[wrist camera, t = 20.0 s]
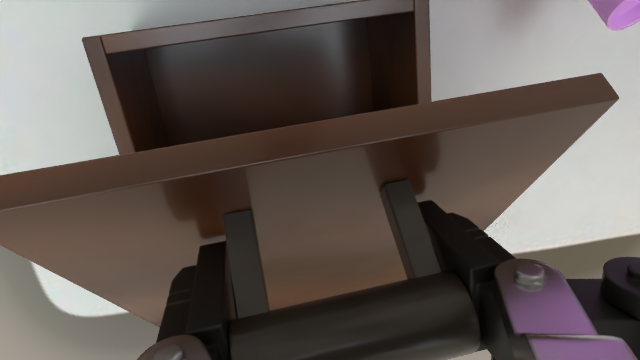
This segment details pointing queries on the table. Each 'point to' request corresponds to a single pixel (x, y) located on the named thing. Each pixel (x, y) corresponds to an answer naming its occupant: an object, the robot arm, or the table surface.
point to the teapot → (617, 12)
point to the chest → (261, 71)
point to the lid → (306, 219)
